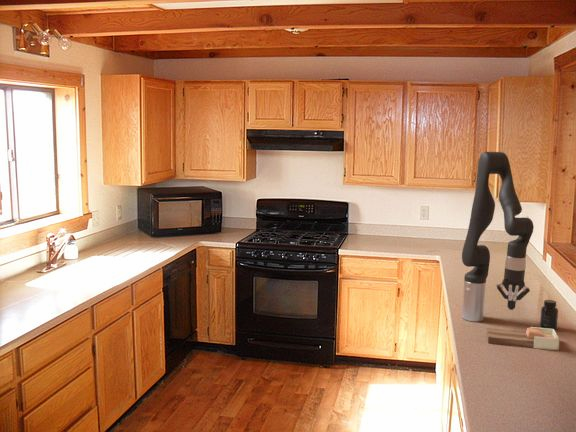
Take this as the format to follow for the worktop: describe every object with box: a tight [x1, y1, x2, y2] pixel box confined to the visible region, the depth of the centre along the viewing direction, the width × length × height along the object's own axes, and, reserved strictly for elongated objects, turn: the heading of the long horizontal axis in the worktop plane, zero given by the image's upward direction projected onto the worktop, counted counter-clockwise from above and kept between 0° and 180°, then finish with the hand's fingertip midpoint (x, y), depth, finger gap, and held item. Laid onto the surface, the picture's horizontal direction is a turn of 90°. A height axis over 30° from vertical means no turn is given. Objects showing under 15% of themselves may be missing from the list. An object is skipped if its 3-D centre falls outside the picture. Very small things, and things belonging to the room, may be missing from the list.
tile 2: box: [542, 334, 554, 338], centre depth 247 cm, size 5×5×2 cm
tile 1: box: [525, 327, 543, 339], centre depth 248 cm, size 5×5×2 cm
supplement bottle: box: [539, 299, 559, 331], centre depth 265 cm, size 7×7×12 cm
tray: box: [529, 326, 560, 351], centre depth 247 cm, size 12×9×5 cm
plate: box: [485, 327, 534, 349], centre depth 250 cm, size 11×17×2 cm, turn 76°
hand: (510, 309), depth 248 cm, fingers closed
